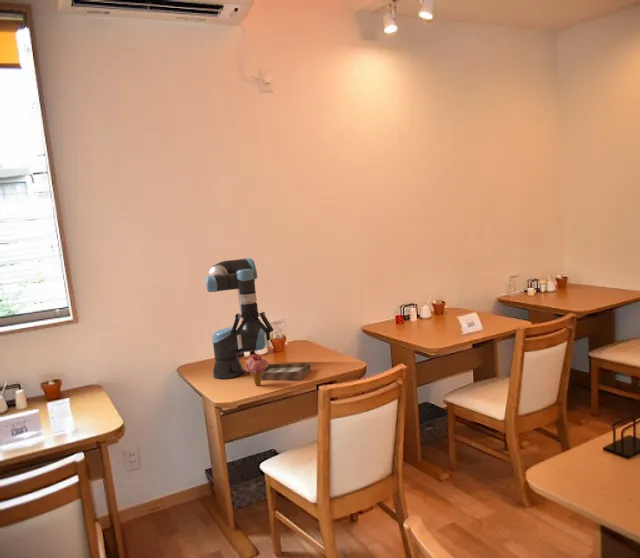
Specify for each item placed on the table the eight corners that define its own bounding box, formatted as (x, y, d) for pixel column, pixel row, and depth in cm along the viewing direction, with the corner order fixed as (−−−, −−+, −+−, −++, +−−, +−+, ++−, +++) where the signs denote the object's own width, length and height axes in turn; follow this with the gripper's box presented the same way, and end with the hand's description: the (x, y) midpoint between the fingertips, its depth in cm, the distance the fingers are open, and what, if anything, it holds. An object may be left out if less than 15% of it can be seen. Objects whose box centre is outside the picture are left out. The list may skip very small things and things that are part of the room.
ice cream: (250, 390, 255) (246, 358, 254) (245, 385, 265) (242, 354, 263) (273, 386, 259) (270, 354, 258) (267, 381, 268) (264, 350, 267)
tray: (258, 381, 270) (257, 373, 270) (269, 371, 285) (268, 364, 285) (301, 380, 264) (300, 372, 264) (310, 370, 280) (310, 362, 279)
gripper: (220, 305, 258) (225, 350, 260) (271, 302, 251) (276, 348, 253) (227, 303, 265) (232, 347, 267) (276, 299, 258) (281, 344, 260)
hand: (253, 347), depth 260 cm, fingers open, 13 cm apart
